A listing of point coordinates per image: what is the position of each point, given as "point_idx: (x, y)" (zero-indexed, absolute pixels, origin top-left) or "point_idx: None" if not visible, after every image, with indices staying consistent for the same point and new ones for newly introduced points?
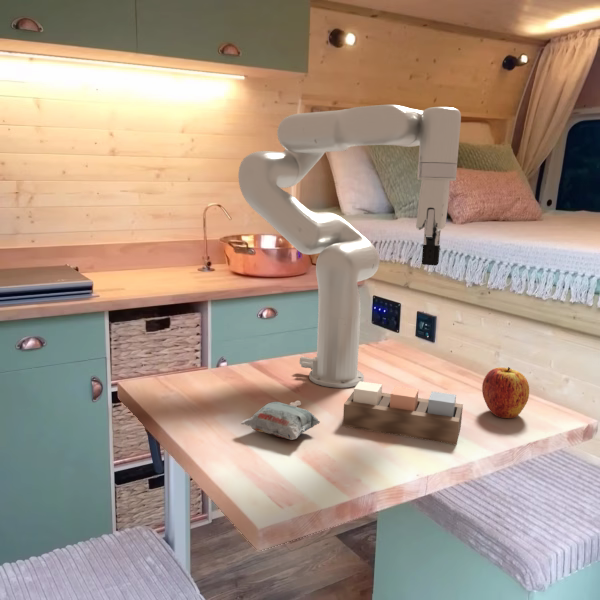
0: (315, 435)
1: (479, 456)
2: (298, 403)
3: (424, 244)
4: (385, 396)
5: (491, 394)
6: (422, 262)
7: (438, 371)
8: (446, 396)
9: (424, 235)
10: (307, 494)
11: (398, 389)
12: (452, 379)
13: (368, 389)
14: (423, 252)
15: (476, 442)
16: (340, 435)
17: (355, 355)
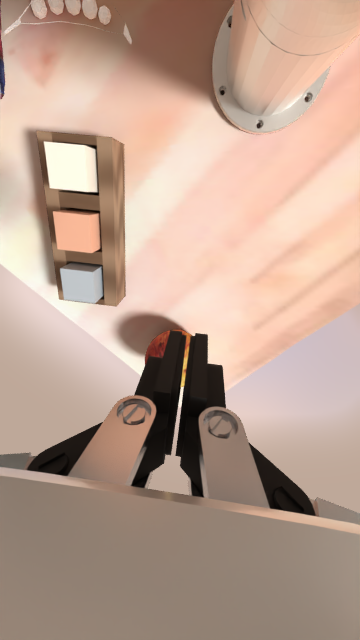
0: (9, 99)
1: (60, 309)
2: (99, 17)
3: (122, 402)
4: (99, 198)
5: (152, 341)
6: (170, 334)
7: (340, 270)
8: (83, 291)
9: (81, 456)
10: None
11: (77, 222)
12: (300, 291)
13: (53, 170)
14: (161, 365)
15: (90, 309)
16: (28, 141)
17: (259, 97)
